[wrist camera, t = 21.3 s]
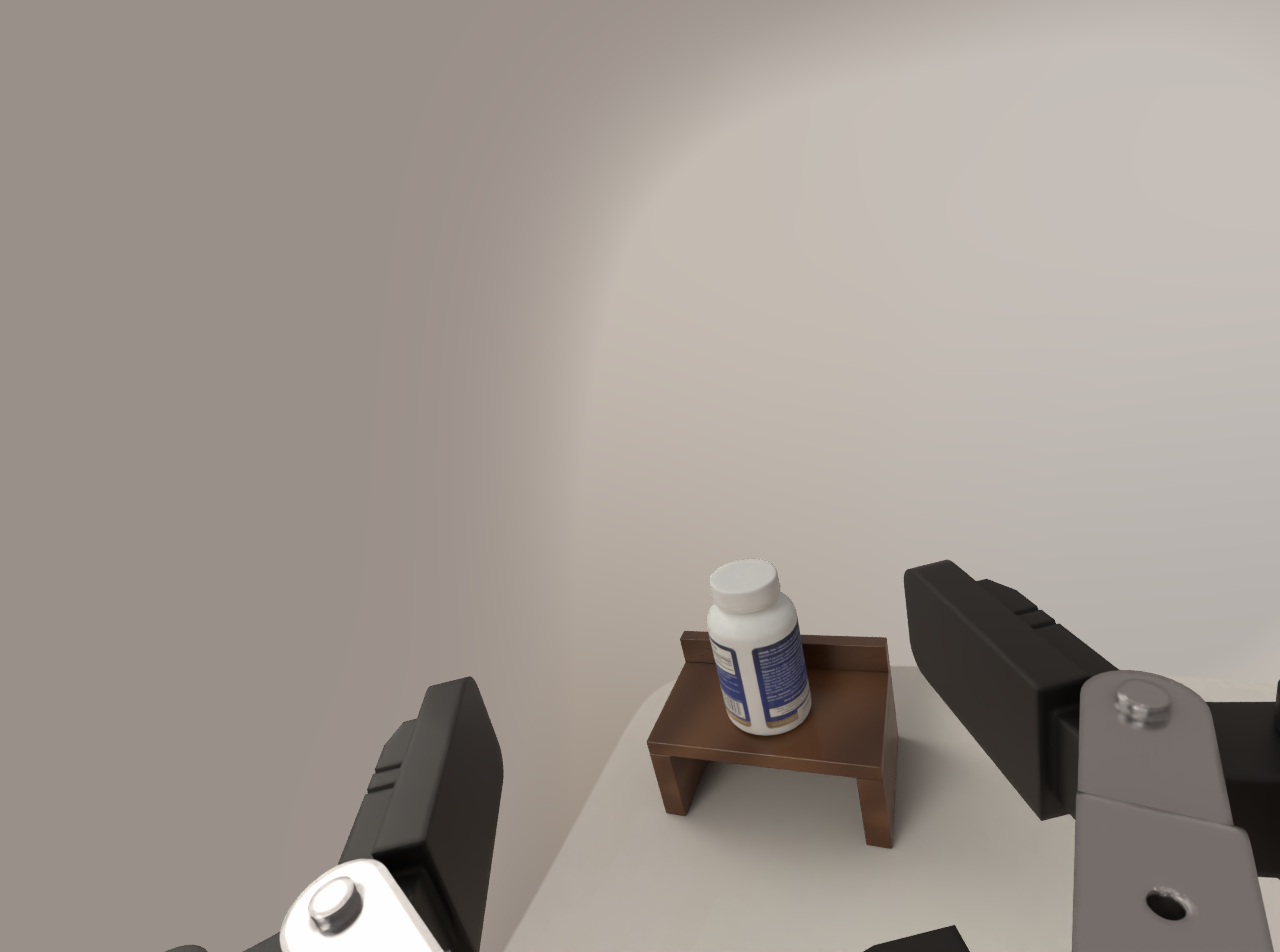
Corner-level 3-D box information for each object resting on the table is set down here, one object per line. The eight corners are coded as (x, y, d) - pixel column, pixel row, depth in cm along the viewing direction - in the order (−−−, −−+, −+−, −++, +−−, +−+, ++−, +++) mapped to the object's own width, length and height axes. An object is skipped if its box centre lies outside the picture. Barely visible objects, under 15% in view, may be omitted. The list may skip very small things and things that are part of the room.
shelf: (666, 813, 44) (638, 716, 41) (704, 717, 52) (684, 630, 49) (892, 849, 38) (877, 738, 35) (898, 735, 46) (886, 637, 43)
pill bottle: (815, 680, 44) (793, 549, 40) (809, 741, 39) (784, 598, 36) (734, 679, 46) (707, 554, 42) (719, 737, 41) (687, 601, 38)
